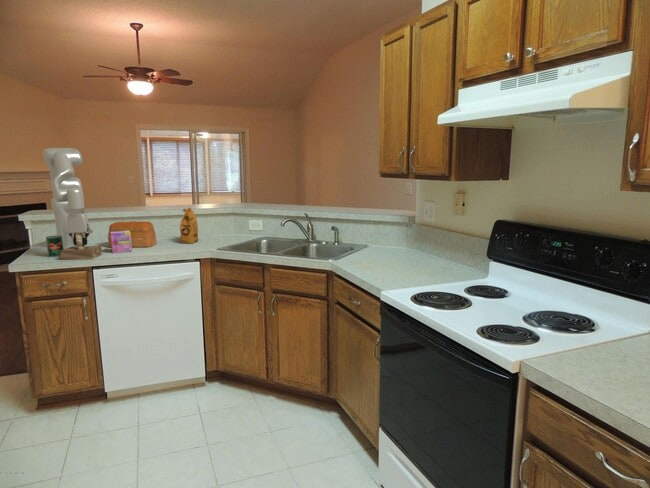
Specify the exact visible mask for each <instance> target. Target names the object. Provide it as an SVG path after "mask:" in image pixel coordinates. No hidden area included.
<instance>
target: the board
mask: <svg viewBox="0 0 650 488" xmlns="http://www.w3.org/2000/svg"><path fill="white" fill-rule="evenodd" d="M84 247H85V249H78V248H77V246H74V247H69V248H67V249H64V250H61V251H60V253H61V256H60V261H61V260H62V261H72V260H73V261H74V260H76V261H77V260H79V261H80V260H81V261H82V260H83V261H84V260H93V259H96V258H98V257H99V256H102V255H103V254H102V246H100V245H91V246H90V245H89V246H88V245H84Z"/></svg>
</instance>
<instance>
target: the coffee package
mask: <svg viewBox="0 0 650 488" xmlns="http://www.w3.org/2000/svg"><path fill="white" fill-rule="evenodd" d="M182 212H184V215H183V218H182V219H181V221H180V223H179V224H180V225H179V231H180V243H181V244H182V245H183V244H184V245H185V244H186V245H187V244H188V245H190V244H195V243H197V242H198V241H199V230H198V229H199V228H198V220H197V217H196V214H195V212H194V211H193V209H192V208H191V206H190V207H188V208H184V209H183V210H182Z"/></svg>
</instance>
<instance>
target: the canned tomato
mask: <svg viewBox="0 0 650 488" xmlns="http://www.w3.org/2000/svg"><path fill="white" fill-rule="evenodd" d="M45 240H46V241H45V242H46V249H47V257H48V258H58V257H60V258H61V253H60V251H61V250H64V248H63V240H62V236H60V235H57V234H56V235H48V236H46V237H45Z"/></svg>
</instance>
